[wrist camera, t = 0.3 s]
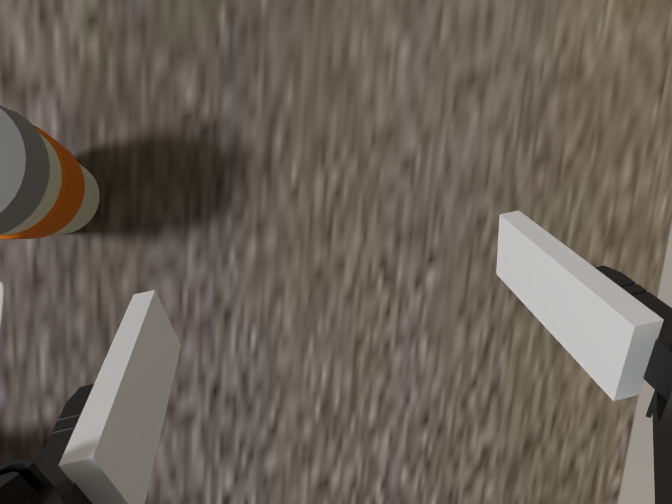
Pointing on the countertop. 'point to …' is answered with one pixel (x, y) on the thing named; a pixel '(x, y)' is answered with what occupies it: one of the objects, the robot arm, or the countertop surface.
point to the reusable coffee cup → (40, 183)
